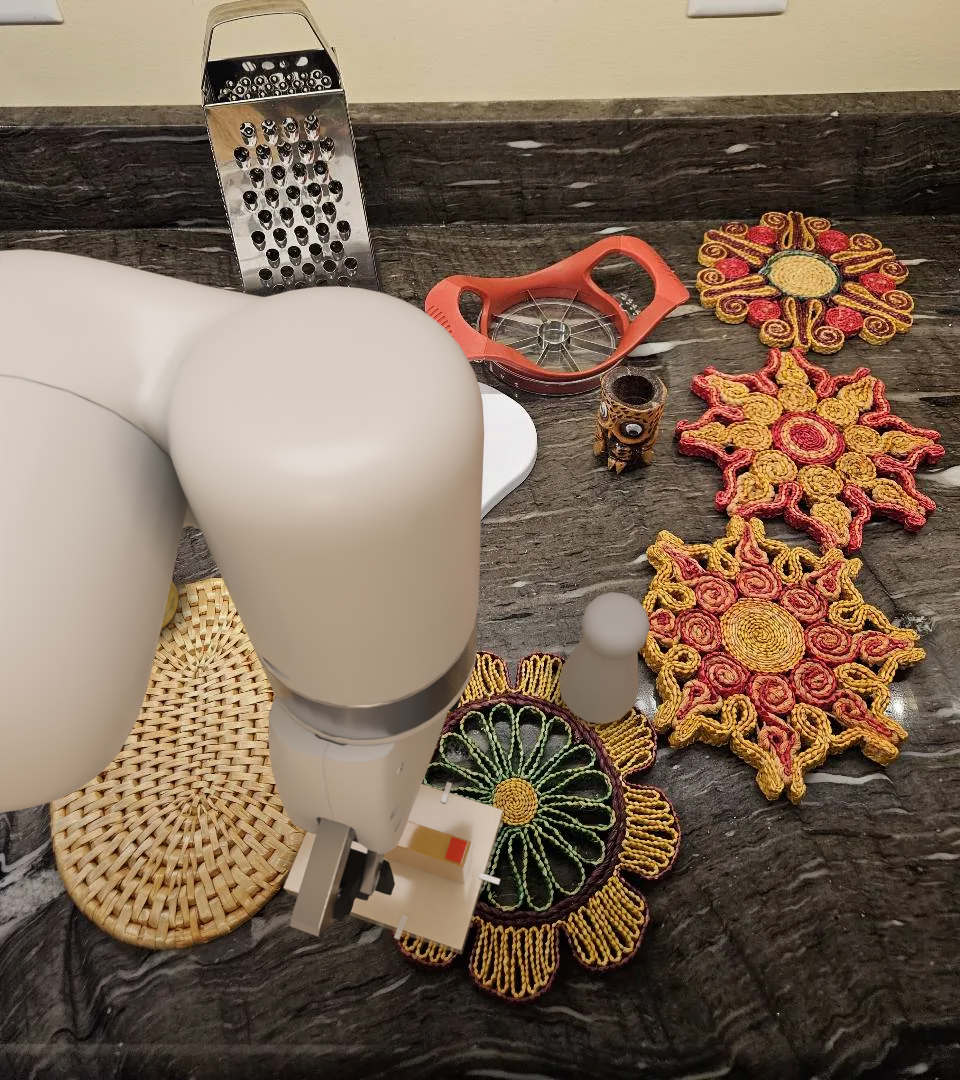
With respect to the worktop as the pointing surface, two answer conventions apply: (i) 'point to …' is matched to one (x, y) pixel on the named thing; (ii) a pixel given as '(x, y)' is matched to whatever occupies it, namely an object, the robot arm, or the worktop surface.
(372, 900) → the block
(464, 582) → the robot arm
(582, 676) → the salt shaker
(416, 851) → the tap handle
